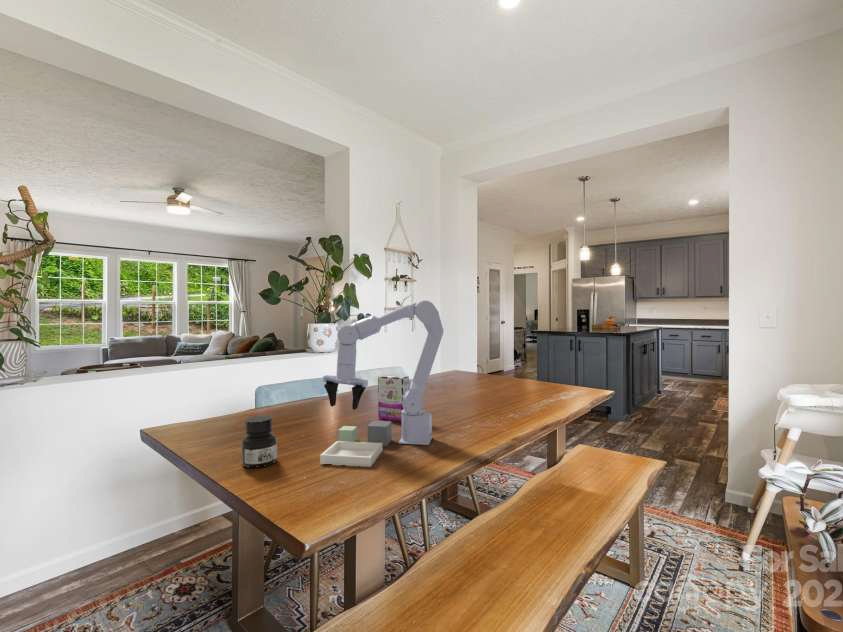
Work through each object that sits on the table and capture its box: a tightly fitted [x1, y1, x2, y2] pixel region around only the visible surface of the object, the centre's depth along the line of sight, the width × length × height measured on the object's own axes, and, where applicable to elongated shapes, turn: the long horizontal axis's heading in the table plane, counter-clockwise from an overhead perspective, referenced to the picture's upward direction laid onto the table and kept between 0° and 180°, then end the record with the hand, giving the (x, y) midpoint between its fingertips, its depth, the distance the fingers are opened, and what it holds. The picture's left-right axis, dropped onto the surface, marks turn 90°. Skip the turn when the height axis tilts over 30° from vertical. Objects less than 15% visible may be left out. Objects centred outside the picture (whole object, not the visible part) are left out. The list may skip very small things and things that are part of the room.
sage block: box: [337, 425, 358, 442], centre depth 129 cm, size 4×4×4 cm
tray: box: [319, 440, 384, 468], centre depth 115 cm, size 14×12×2 cm
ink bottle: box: [241, 415, 278, 468], centre depth 113 cm, size 10×9×12 cm
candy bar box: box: [377, 374, 410, 423], centre depth 155 cm, size 11×5×16 cm, turn 62°
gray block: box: [367, 420, 393, 447], centre depth 129 cm, size 6×6×6 cm
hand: (343, 407), depth 129 cm, fingers open, 7 cm apart
